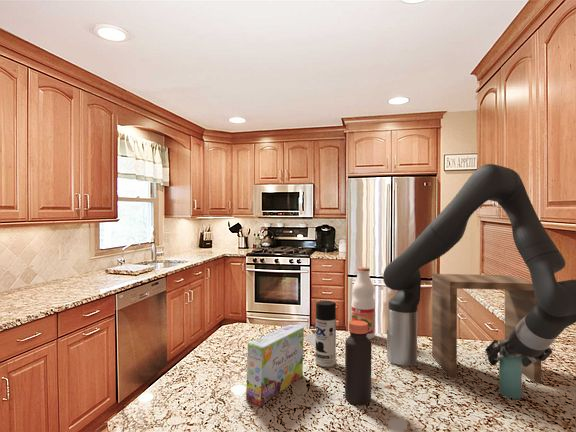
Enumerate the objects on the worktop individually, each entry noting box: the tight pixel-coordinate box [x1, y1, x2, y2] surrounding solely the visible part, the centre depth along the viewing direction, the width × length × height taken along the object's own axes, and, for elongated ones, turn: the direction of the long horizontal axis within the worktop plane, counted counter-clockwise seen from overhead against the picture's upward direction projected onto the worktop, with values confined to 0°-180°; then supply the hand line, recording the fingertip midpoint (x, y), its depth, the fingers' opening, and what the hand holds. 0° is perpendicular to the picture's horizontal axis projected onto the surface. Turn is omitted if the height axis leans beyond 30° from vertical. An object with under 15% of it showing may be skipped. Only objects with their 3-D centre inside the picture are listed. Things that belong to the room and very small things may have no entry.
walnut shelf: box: [431, 273, 542, 384], centre depth 111 cm, size 26×16×29 cm, turn 85°
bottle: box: [344, 320, 373, 406], centre depth 91 cm, size 7×7×20 cm
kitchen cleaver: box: [304, 325, 316, 349], centre depth 139 cm, size 24×1×10 cm
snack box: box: [245, 324, 305, 407], centre depth 97 cm, size 21×6×15 cm, turn 148°
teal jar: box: [498, 339, 523, 400], centre depth 95 cm, size 5×5×14 cm
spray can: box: [314, 300, 337, 368], centre depth 114 cm, size 7×7×20 cm
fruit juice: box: [351, 266, 376, 340], centre depth 142 cm, size 9×9×28 cm
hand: (507, 362), depth 96 cm, fingers open, 8 cm apart
